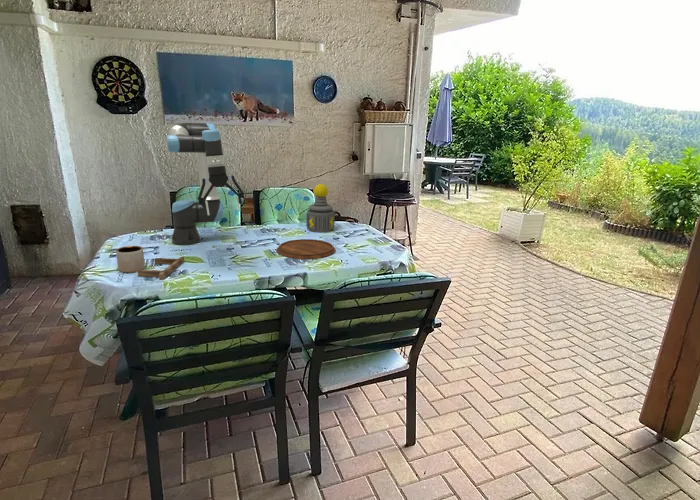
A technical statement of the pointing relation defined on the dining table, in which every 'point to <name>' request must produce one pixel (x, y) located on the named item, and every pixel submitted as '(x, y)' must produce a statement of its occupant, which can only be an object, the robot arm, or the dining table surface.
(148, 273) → the walnut frame
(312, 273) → the dining table surface
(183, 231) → the robot arm
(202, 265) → the dining table surface
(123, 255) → the planter
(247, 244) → the dining table surface
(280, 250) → the cutting board
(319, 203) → the decorative lamp
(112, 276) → the dining table surface
